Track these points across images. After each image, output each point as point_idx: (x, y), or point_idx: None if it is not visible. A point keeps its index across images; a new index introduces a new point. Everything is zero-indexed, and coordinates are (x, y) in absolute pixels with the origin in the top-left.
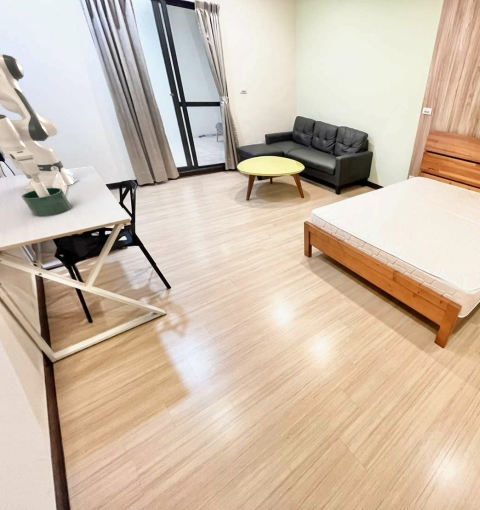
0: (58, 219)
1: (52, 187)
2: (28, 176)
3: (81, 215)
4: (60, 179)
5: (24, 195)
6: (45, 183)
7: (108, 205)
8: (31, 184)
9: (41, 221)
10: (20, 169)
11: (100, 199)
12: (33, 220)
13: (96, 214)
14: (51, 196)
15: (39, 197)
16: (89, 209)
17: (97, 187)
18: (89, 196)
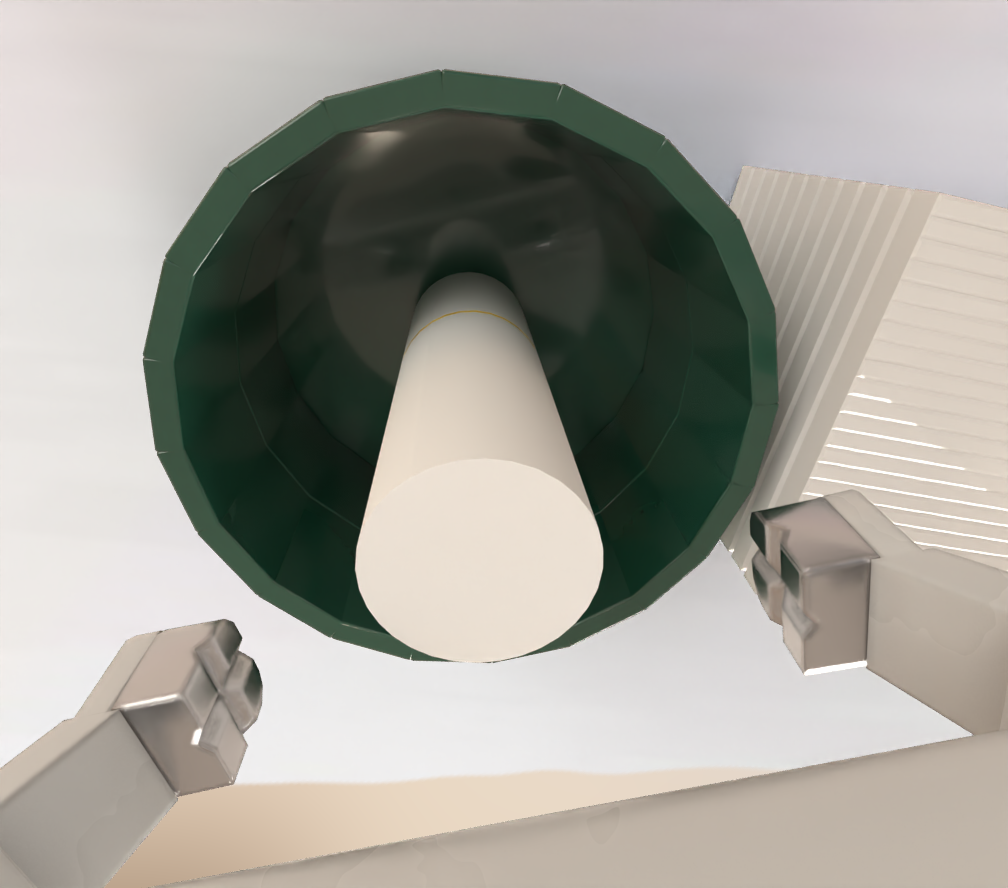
0: (54, 333)
1: (748, 565)
2: (782, 582)
3: (66, 537)
4: None
5: (568, 131)
6: (1001, 526)
7: (248, 745)
8: (436, 456)
9: (86, 153)
10: (841, 851)
11: (498, 717)
12: (194, 65)
13: (18, 643)
14: (194, 515)
15: (461, 329)
16: (231, 614)
17: (926, 739)
18: (686, 659)
